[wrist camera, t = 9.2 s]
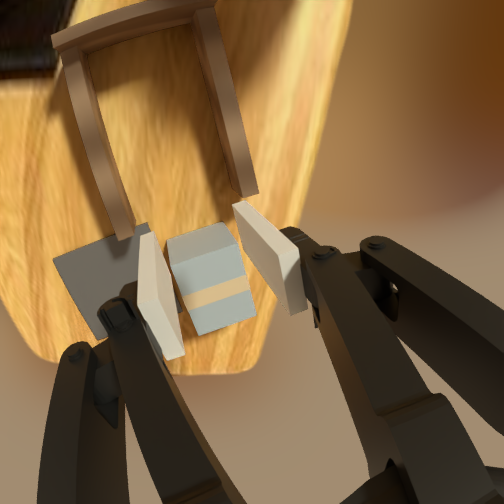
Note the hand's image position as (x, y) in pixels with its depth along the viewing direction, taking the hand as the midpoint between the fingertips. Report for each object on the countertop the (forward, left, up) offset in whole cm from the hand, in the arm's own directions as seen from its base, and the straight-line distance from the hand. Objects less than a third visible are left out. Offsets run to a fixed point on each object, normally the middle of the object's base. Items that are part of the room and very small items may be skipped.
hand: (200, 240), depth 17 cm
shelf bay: (-7, 0, -15) cm, 16 cm away
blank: (+9, 0, -15) cm, 17 cm away
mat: (+8, -9, -15) cm, 19 cm away
